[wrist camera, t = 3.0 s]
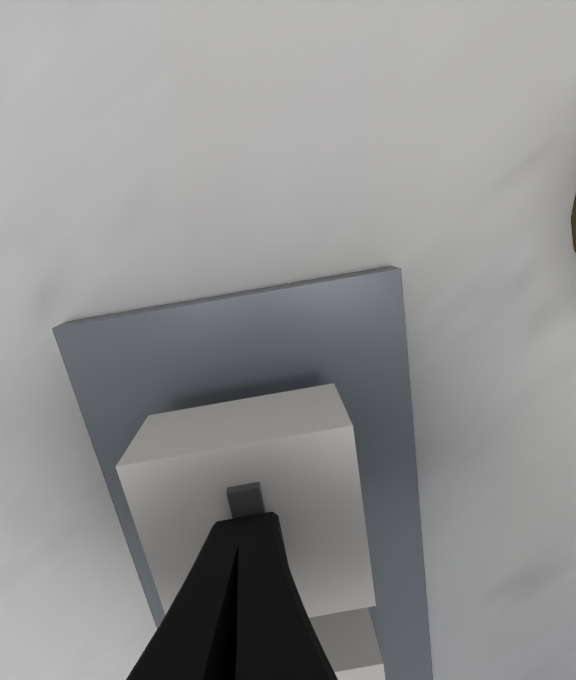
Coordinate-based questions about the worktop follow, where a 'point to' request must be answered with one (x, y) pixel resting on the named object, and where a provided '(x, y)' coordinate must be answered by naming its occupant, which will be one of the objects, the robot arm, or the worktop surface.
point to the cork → (574, 224)
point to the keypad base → (268, 378)
